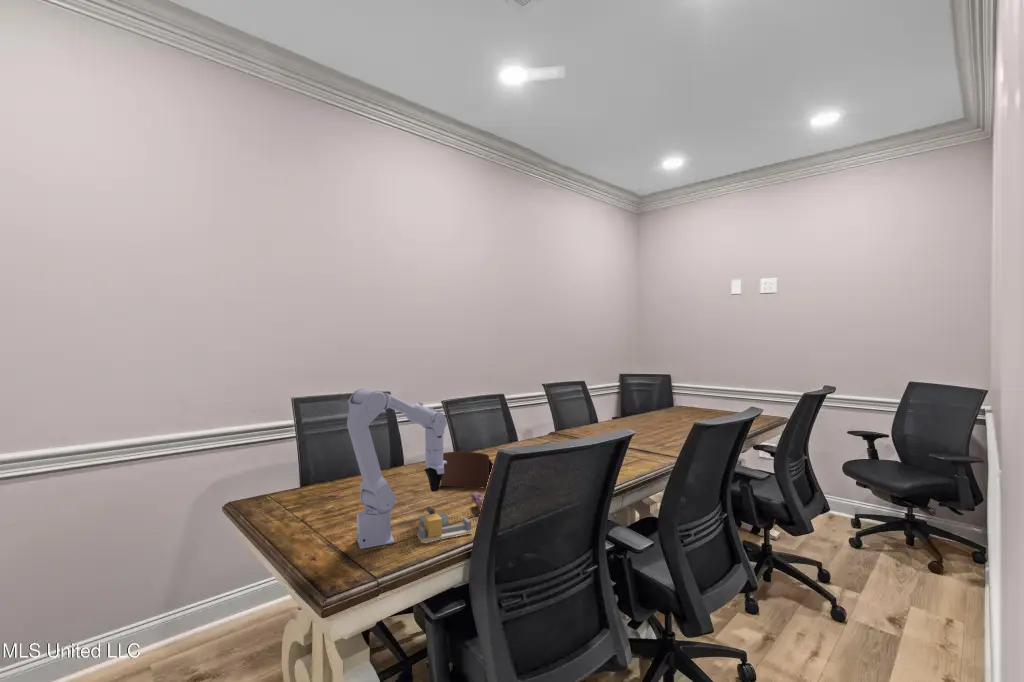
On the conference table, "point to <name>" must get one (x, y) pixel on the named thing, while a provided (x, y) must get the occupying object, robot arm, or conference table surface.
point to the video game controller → (477, 499)
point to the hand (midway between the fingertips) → (434, 490)
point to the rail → (446, 531)
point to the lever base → (444, 517)
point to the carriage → (433, 524)
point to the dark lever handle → (430, 510)
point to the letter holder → (466, 469)
